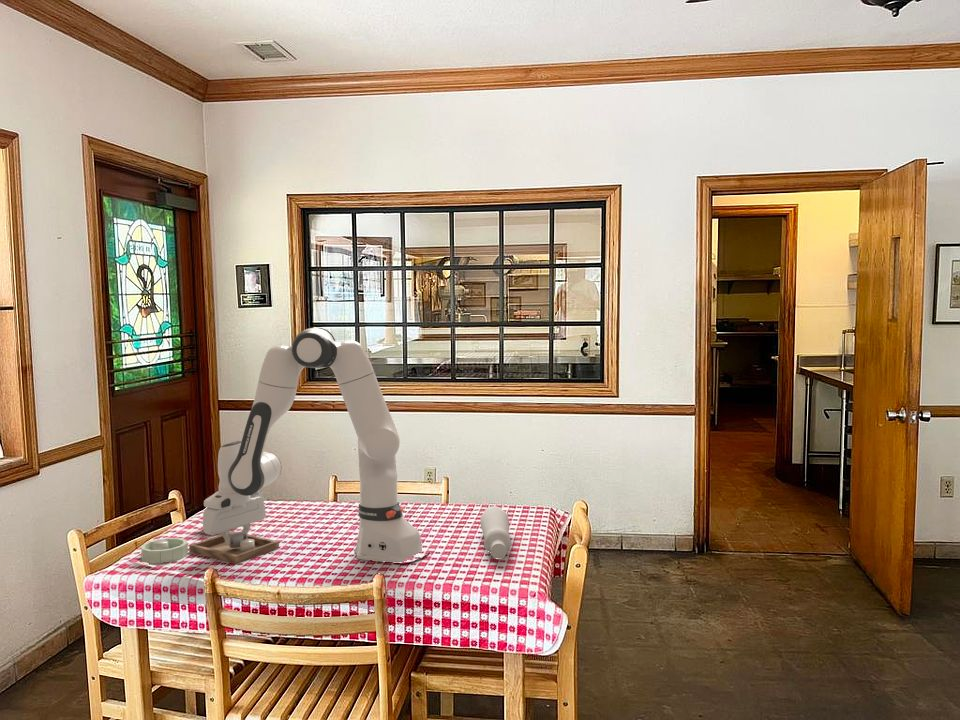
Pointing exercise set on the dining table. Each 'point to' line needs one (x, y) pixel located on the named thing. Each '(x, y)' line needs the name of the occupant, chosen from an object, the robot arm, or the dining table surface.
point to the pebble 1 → (160, 545)
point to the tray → (232, 549)
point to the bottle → (495, 531)
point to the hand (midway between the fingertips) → (236, 541)
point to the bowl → (164, 551)
